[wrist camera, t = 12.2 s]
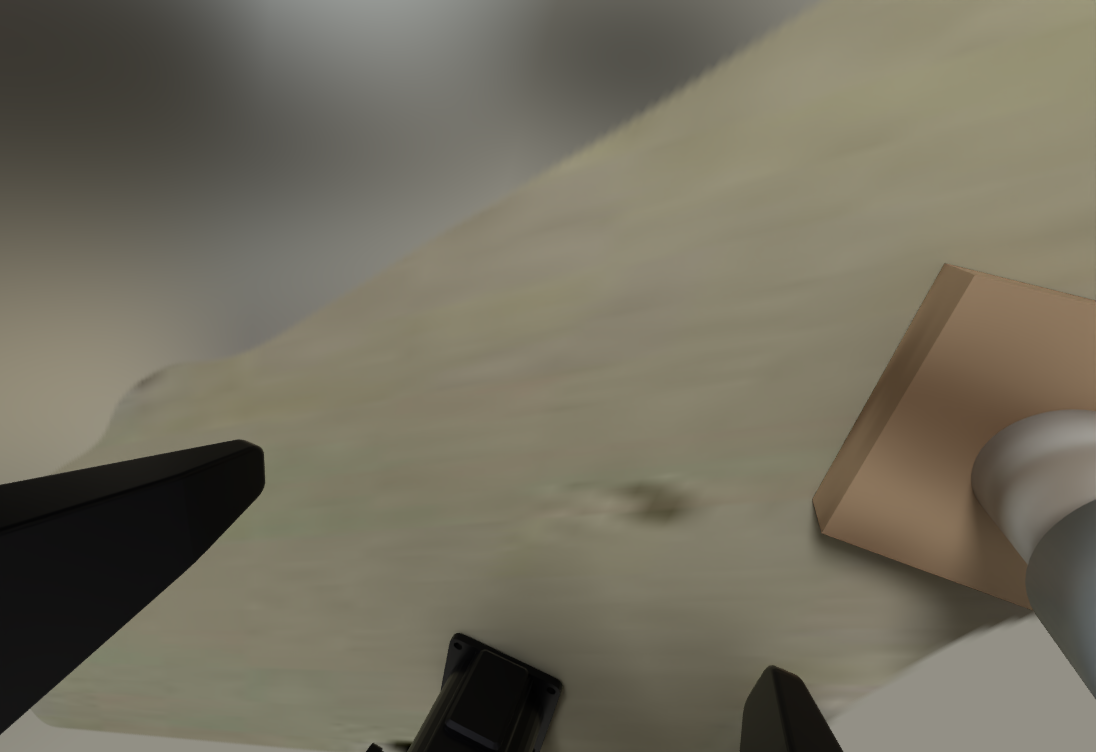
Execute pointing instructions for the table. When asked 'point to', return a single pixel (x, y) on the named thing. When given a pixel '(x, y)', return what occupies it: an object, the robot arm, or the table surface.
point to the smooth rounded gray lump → (1068, 588)
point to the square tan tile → (973, 434)
